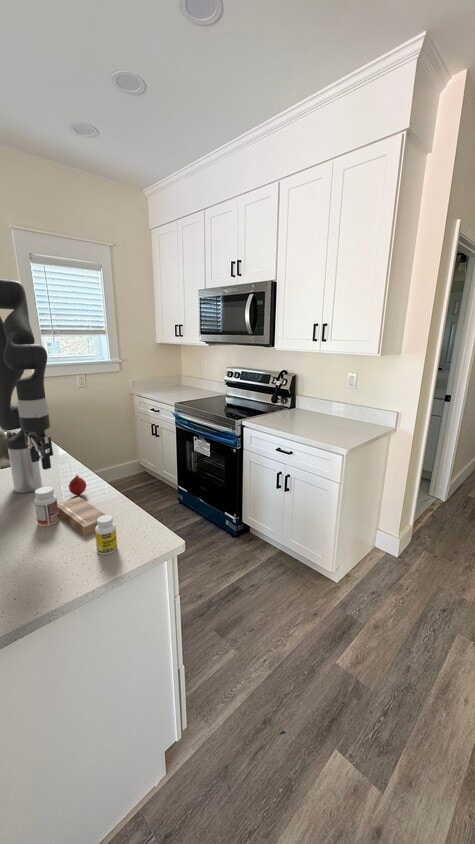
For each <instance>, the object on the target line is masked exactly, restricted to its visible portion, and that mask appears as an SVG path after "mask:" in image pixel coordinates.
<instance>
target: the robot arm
mask: <svg viewBox="0 0 475 844" xmlns="http://www.w3.org/2000/svg"><path fill="white" fill-rule="evenodd" d="M0 310H11V312H10V313H9V314H8V315H7V316H6V318H5V320H4V321H3V319H2V317H1V315H0V429H1V430H2V431H5V432H7V431H8V432H9V431H14V430H19V429H20V430H19V431H18V432H17V433H16V434H14V435H12V436H11V437H9V438H8V439H7V440H6V447H7V451H8V457H9V464H10V470H11V476H12V482H13V489H14V492H15V493H18V494H27V493H32V492H35V490H37V489H38V488H41V487H43V483H42V476H41V468H40V462H41V467H42V470H49V469H51V468H52V464H51V463H52V462H51V457H52V456H54V449H53V444H52V437H51V436H50V435H47V434H46V430H48V429H50V427H51V422H50V414H49V407H48V402H47V399H46V391H45V372H46V367H47V363H48V352H47V350H46V349H45V347H44V346H43V345H41V344H39V343H36V342H35V337H34V333H33V330H32V328H31V324H30V318H29V307H28V300H27V295H26V291H25V287H24V285H23V284H22V283H21V282H20V281H17V280H15V279H13V280H12V279H6V278H0ZM26 370H34V371H33V372H32V374H30V375H29V376H27V377H26V376H25V377H22V376H23V375H24V372H25V371H26ZM15 390H16V396H17V402H16V403H12V397H13V393H14V391H15ZM40 460H41V461H40Z"/></svg>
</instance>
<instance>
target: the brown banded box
mask: <svg viewBox="0 0 475 844" xmlns="http://www.w3.org/2000/svg"><path fill="white" fill-rule="evenodd" d="M57 505H58V513H59V517H60V518H62V519H63V520H65V522H67V523H68V524H70V525H71V526H72V527H73V528H74V529H76V530H77V531H78V532H80V533H81V534H82V535H84V536H85V537H87V536H88V535H90V534H93V533H95V528H96V526H97V525H98V524H97V519H98V518H99V517H100V516H103V515H106V514H105V513H104V512H102V511H101V510H99V509H98V508H97V507H95V506H94V505H92V504H90V503H89V502H88V501H86V500H84V499H83V498H81V497H80V496H77V497H74V498H71V499H69V500H66V501H62V502H59V503H57Z"/></svg>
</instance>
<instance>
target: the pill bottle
mask: <svg viewBox="0 0 475 844" xmlns="http://www.w3.org/2000/svg"><path fill="white" fill-rule="evenodd" d="M34 497H35V499H34V507H35V514H36V521H37V525H38V526H40V527H51V526H53V525H55V524H57V523H58V522H59V520H60V516H59V513H58V505H57V504H58V498H57V496H56V494H55V489H54V487H53V486H42V487H41V488H38V489H37V490H35V491H34Z"/></svg>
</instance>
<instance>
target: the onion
mask: <svg viewBox="0 0 475 844" xmlns="http://www.w3.org/2000/svg"><path fill="white" fill-rule="evenodd" d="M68 489H69V492H70V493H71V494H72V495H75V496H77V497H80V495H82V494H83V493H85V491H86V489H87V483H86V481H85V480H84V479H83V478H82V477H80V475H79V474H77V475H75V476H74V477H73V478H72V479H71V481H69V484H68Z"/></svg>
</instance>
